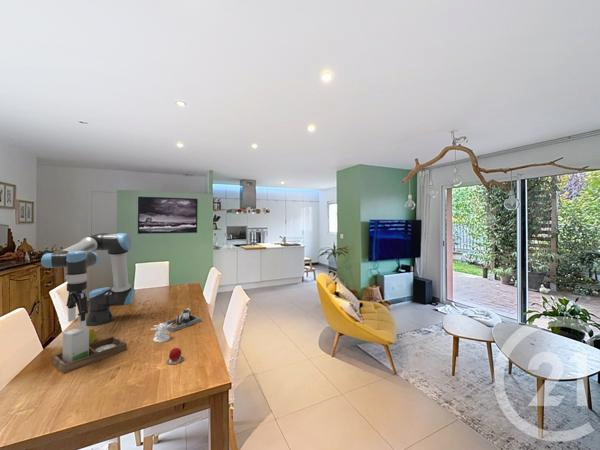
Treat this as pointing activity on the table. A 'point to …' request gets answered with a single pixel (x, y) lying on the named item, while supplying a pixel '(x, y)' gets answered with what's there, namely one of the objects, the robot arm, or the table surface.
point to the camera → (184, 316)
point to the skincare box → (75, 344)
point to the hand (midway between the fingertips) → (76, 323)
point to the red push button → (175, 356)
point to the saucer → (105, 347)
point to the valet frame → (172, 329)
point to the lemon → (92, 336)
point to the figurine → (161, 332)
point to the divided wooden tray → (91, 354)
